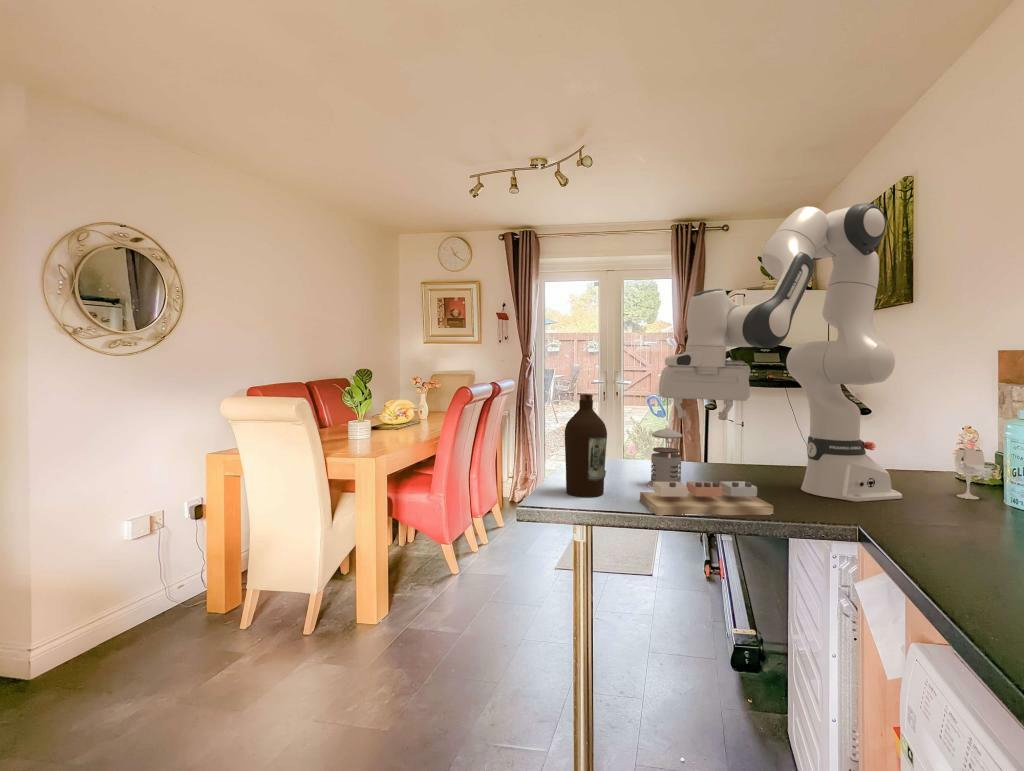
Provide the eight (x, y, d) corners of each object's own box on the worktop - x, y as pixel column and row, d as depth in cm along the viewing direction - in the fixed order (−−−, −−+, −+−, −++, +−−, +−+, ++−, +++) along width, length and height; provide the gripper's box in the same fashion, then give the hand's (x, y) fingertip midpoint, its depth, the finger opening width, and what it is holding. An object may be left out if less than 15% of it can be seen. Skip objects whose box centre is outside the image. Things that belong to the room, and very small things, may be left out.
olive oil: (555, 492, 141) (556, 394, 140) (581, 486, 148) (583, 392, 147) (588, 500, 133) (589, 396, 132) (614, 493, 141) (616, 394, 139)
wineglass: (983, 497, 140) (985, 449, 139) (981, 501, 136) (984, 452, 135) (954, 493, 144) (956, 447, 143) (952, 497, 140) (954, 449, 139)
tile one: (677, 490, 131) (678, 478, 130) (687, 496, 125) (687, 484, 124) (652, 490, 130) (653, 478, 130) (661, 496, 124) (661, 484, 124)
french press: (642, 486, 148) (644, 393, 147) (653, 478, 158) (655, 390, 157) (680, 491, 143) (683, 394, 142) (689, 482, 154) (691, 392, 152)
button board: (745, 499, 135) (745, 491, 135) (773, 514, 122) (773, 505, 122) (639, 500, 134) (640, 492, 134) (656, 515, 121) (656, 506, 121)
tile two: (744, 489, 131) (744, 478, 131) (756, 496, 125) (757, 483, 125) (719, 489, 131) (719, 478, 131) (730, 496, 125) (731, 483, 125)
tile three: (711, 489, 131) (711, 478, 131) (722, 496, 125) (722, 483, 125) (686, 490, 131) (686, 478, 131) (696, 496, 125) (696, 484, 125)
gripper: (744, 361, 132) (741, 419, 132) (658, 358, 132) (655, 416, 132) (756, 360, 125) (753, 422, 126) (665, 357, 126) (662, 418, 126)
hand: (702, 419), depth 129 cm, fingers open, 8 cm apart
